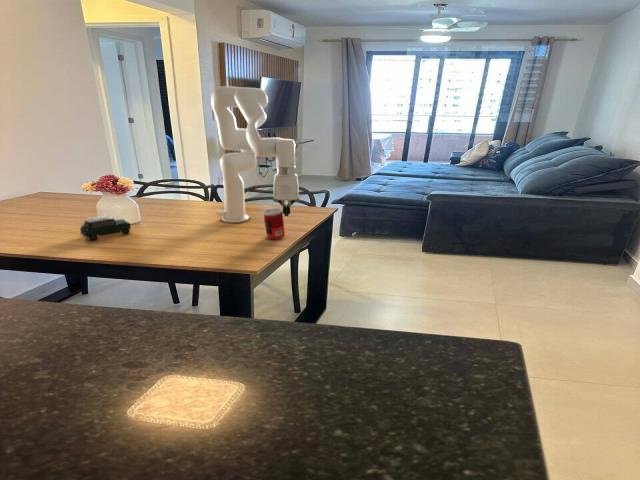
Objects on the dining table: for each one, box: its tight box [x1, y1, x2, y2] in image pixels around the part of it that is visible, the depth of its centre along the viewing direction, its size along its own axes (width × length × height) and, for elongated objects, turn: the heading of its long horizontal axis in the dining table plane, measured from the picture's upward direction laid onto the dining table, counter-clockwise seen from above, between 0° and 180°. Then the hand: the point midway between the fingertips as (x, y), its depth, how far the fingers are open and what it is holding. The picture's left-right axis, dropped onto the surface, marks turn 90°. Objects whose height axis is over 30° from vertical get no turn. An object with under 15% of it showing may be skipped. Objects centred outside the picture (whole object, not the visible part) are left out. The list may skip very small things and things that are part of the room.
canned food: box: [263, 208, 286, 240], centre depth 159 cm, size 8×8×11 cm
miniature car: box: [79, 214, 132, 242], centre depth 156 cm, size 9×18×8 cm, turn 134°
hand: (286, 215), depth 157 cm, fingers closed
